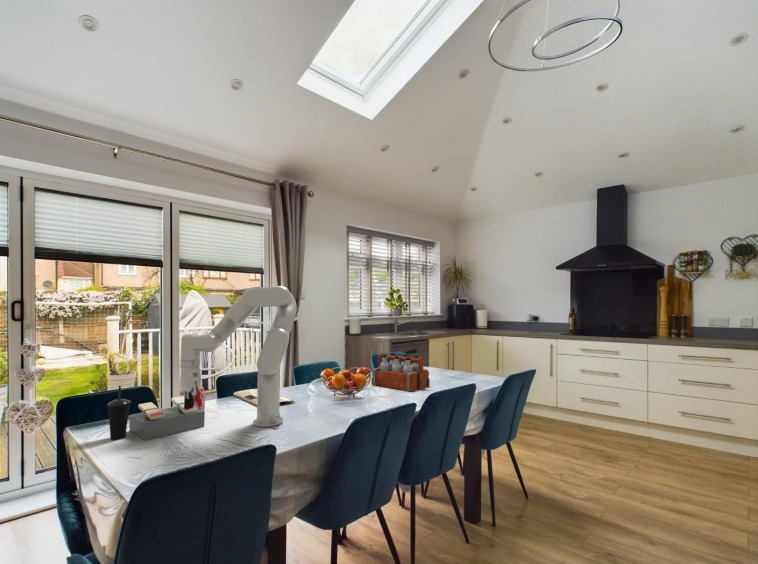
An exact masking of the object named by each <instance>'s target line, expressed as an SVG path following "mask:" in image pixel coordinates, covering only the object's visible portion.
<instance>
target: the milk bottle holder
mask: <svg viewBox="0 0 758 564" xmlns="http://www.w3.org/2000/svg"><path fill="white" fill-rule="evenodd" d="M377 358H378V367H375V368H373V369H372V371H371V376H372V377H371V382H370V383H371V385H372V386H374V385H376V387H377V386H378V387H383V388H390V389H396V390H402V391H407V392H413V391H417V390H423V389H424V388H425V387H430V384H431V383H430V380H431V379H430V378H429V377H430V371H429V370H428V368H424V365H425V364H424V363H426V362H425V360H424V357H423V356H422V357H421V356H420V357H419V355H413V357H408V354H402V356H401V355H396V353H390V354H384V353H382V352H380V353H379V354H378V355H377ZM388 360H389V362H388ZM400 362H401V364H400ZM411 363H412V364H411Z"/></svg>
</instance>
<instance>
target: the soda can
mask: <svg viewBox="0 0 758 564" xmlns="http://www.w3.org/2000/svg"><path fill="white" fill-rule="evenodd" d="M204 388H205V387H204V386H201V390H200V391H196V393H197V394H196V395H194V406H195V407H196V408H198V409H200V410H203V411H205V409H206V408H205V407H206V391H205V389H204Z"/></svg>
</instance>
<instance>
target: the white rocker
mask: <svg viewBox="0 0 758 564" xmlns="http://www.w3.org/2000/svg"><path fill="white" fill-rule="evenodd" d="M184 399H185V398H184V395H182V396H175V397H171V402H172V403H173V404H174V405H175V406H177V407H178V408H179V409H181V410H182V411H183V412H184V413H190V412H195V411H197V408H196V407H195V406H193V408H188V409H186V408H184Z"/></svg>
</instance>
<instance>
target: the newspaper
mask: <svg viewBox="0 0 758 564" xmlns="http://www.w3.org/2000/svg"><path fill="white" fill-rule="evenodd" d="M233 396H234V397H237V398H239V399H241V400H243V401H245V402H248V403H249V404H252V405H254V406H256V407H257V388H250V389H244V390H239V391H235V392H234V393H233ZM286 402H287V403H286ZM280 403H286V404H288V403H294V404H295V403H296V402H295V401H294V400H292V399H289V398H287V397H284V396H282V395H280Z"/></svg>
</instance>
